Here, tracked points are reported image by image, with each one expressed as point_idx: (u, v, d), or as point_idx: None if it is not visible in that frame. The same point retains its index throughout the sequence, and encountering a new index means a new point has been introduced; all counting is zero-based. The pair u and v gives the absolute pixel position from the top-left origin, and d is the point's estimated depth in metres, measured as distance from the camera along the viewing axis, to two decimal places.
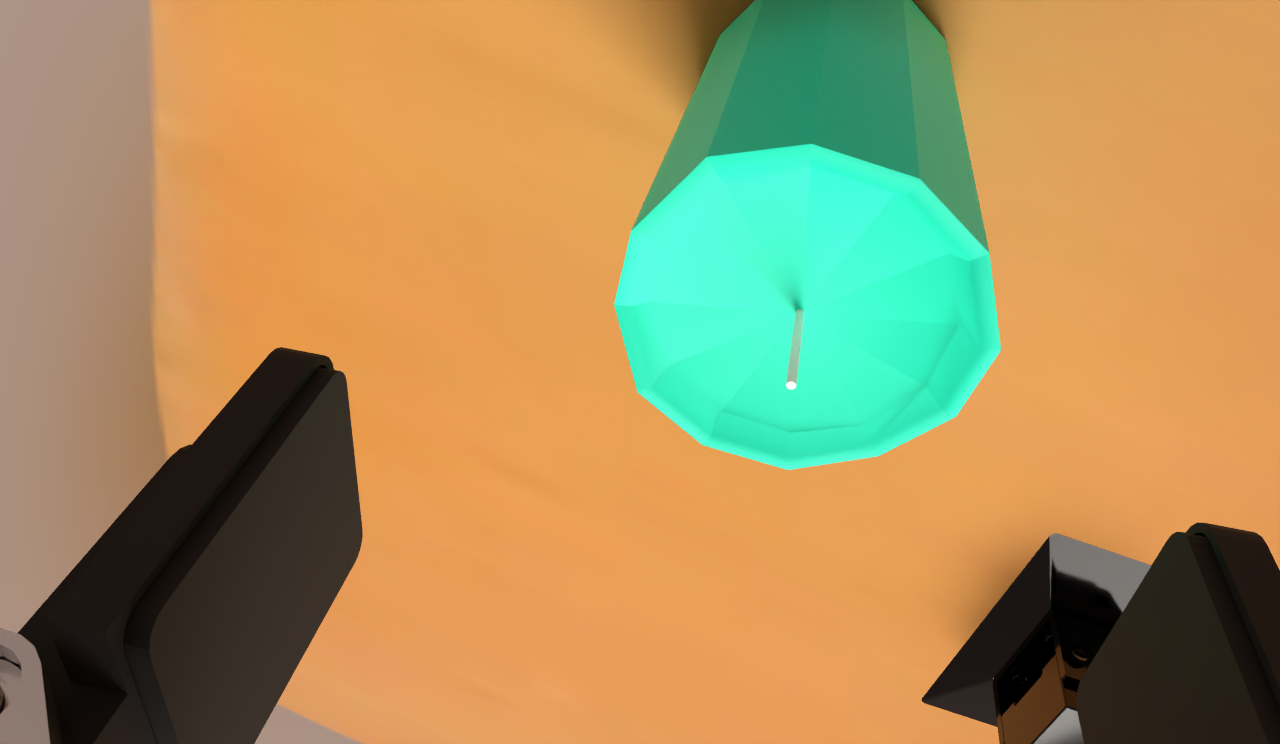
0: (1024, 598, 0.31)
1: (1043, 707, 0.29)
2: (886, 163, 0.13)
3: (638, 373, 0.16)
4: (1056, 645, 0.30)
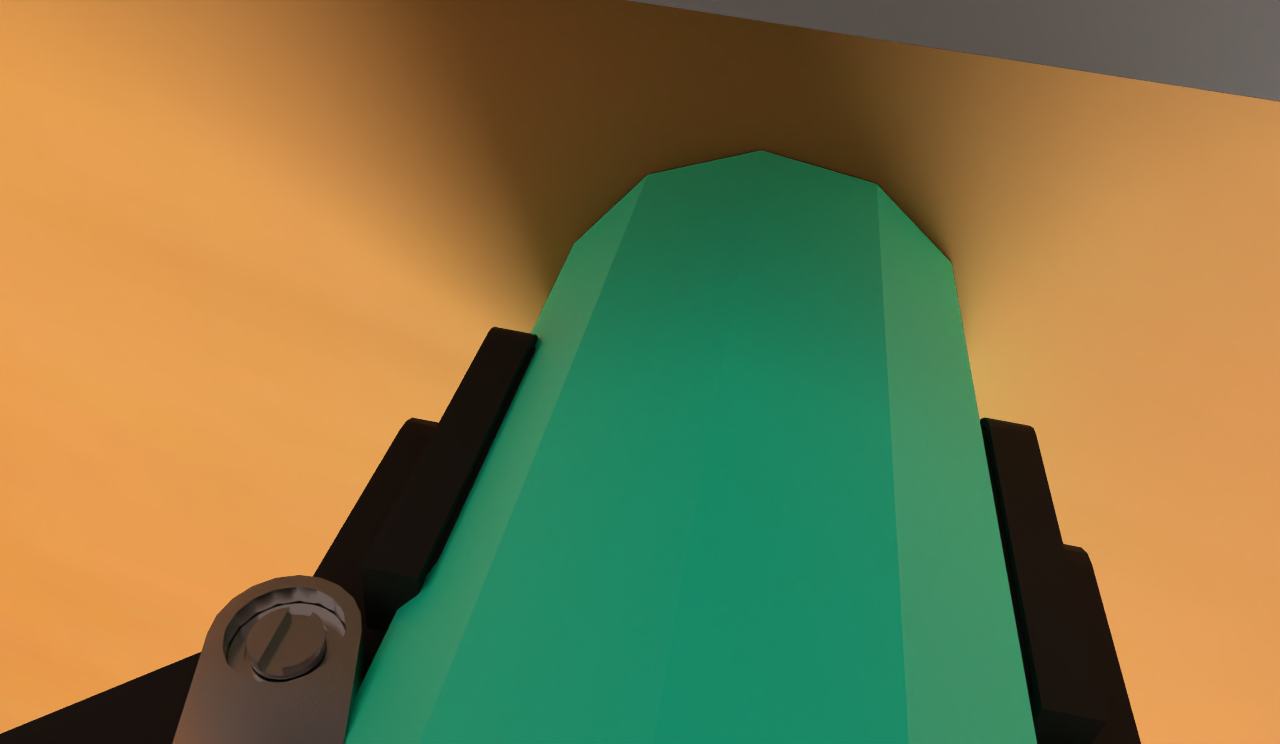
0: None
1: None
2: None
3: None
4: None
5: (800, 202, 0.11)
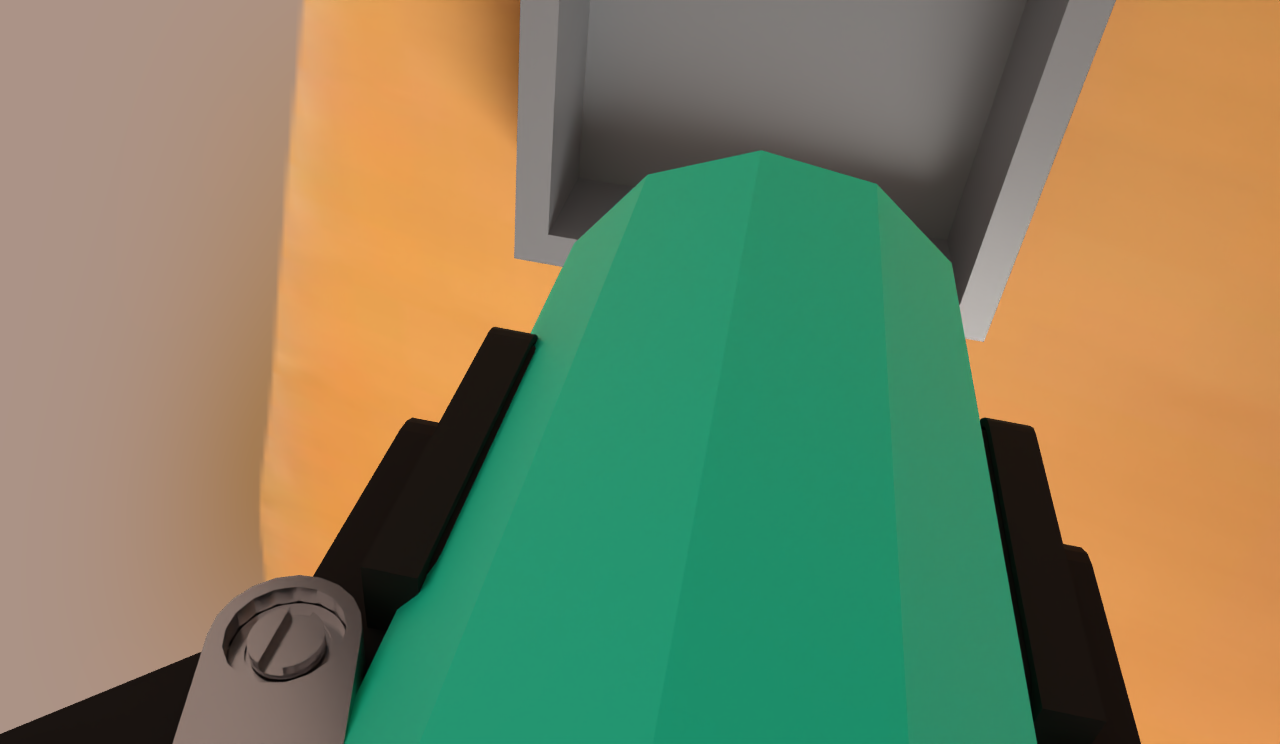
0: None
1: None
2: None
3: None
4: None
5: (800, 202, 0.11)
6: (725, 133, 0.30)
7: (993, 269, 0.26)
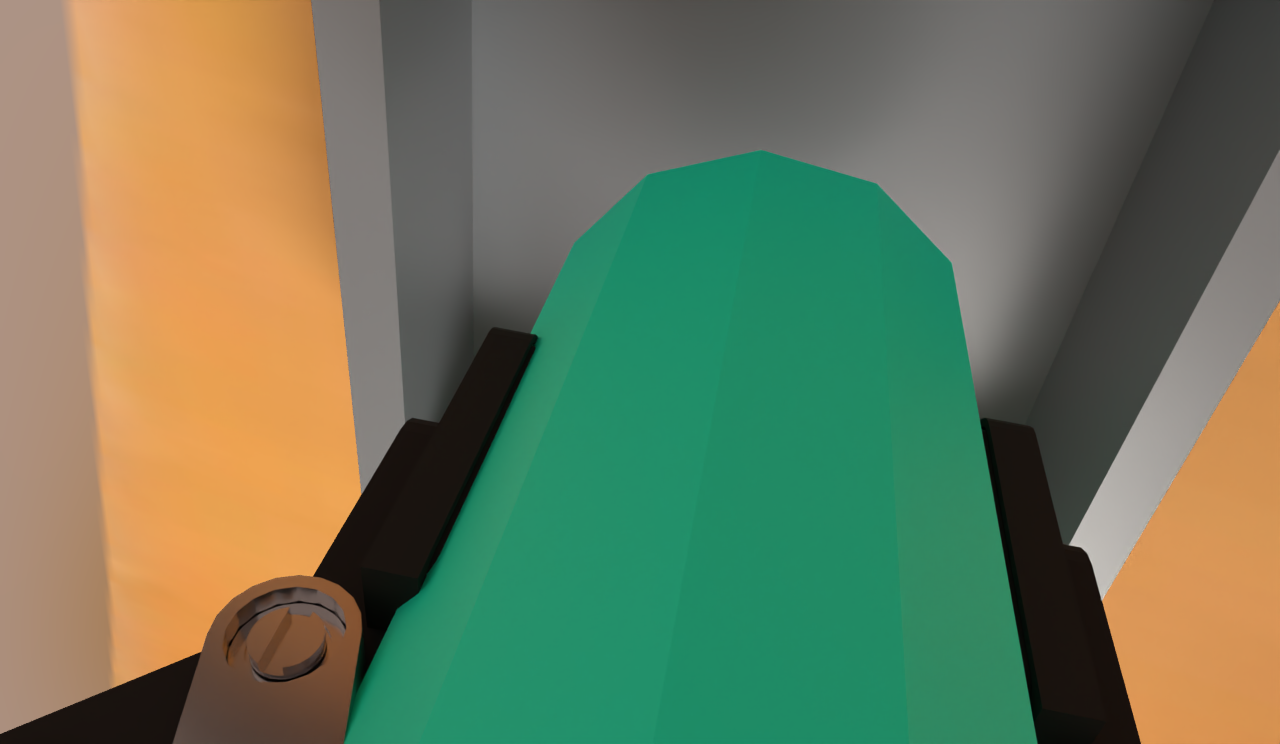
0: None
1: None
2: None
3: None
4: None
5: (800, 202, 0.11)
6: None
7: None
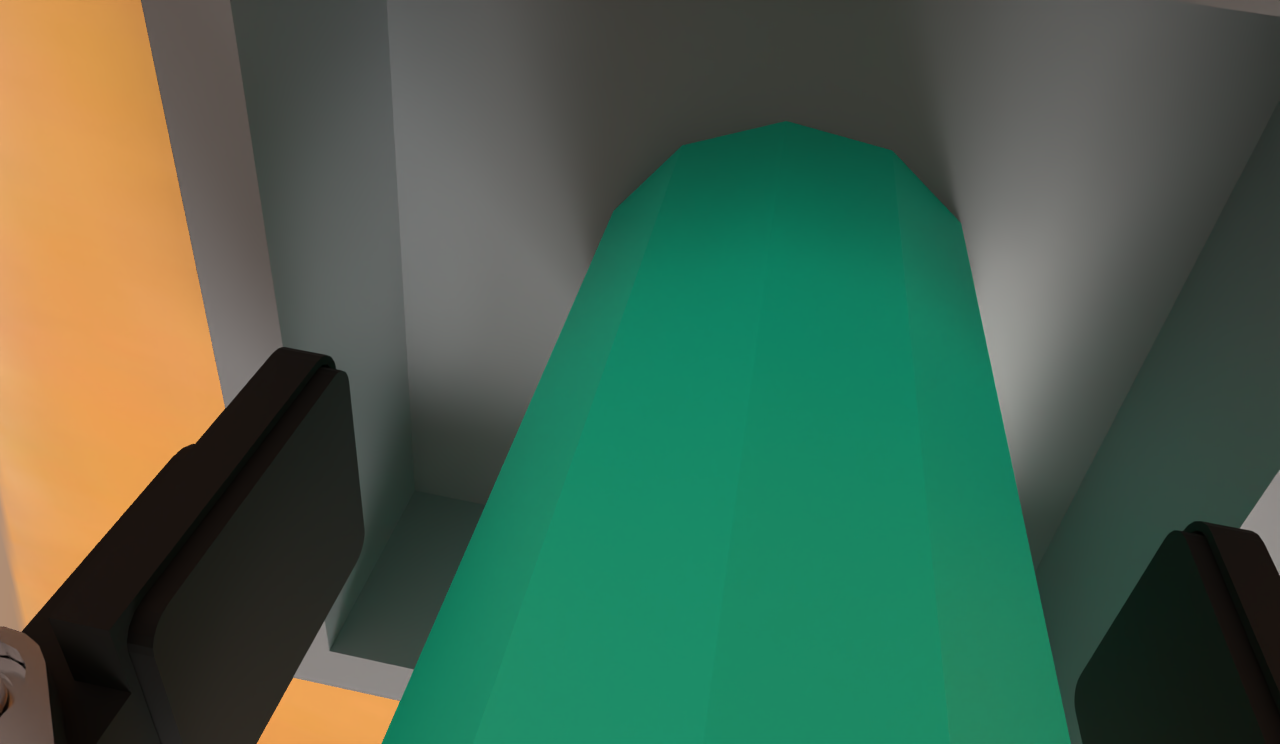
0: None
1: None
2: None
3: None
4: None
5: (824, 165, 0.13)
6: None
7: None
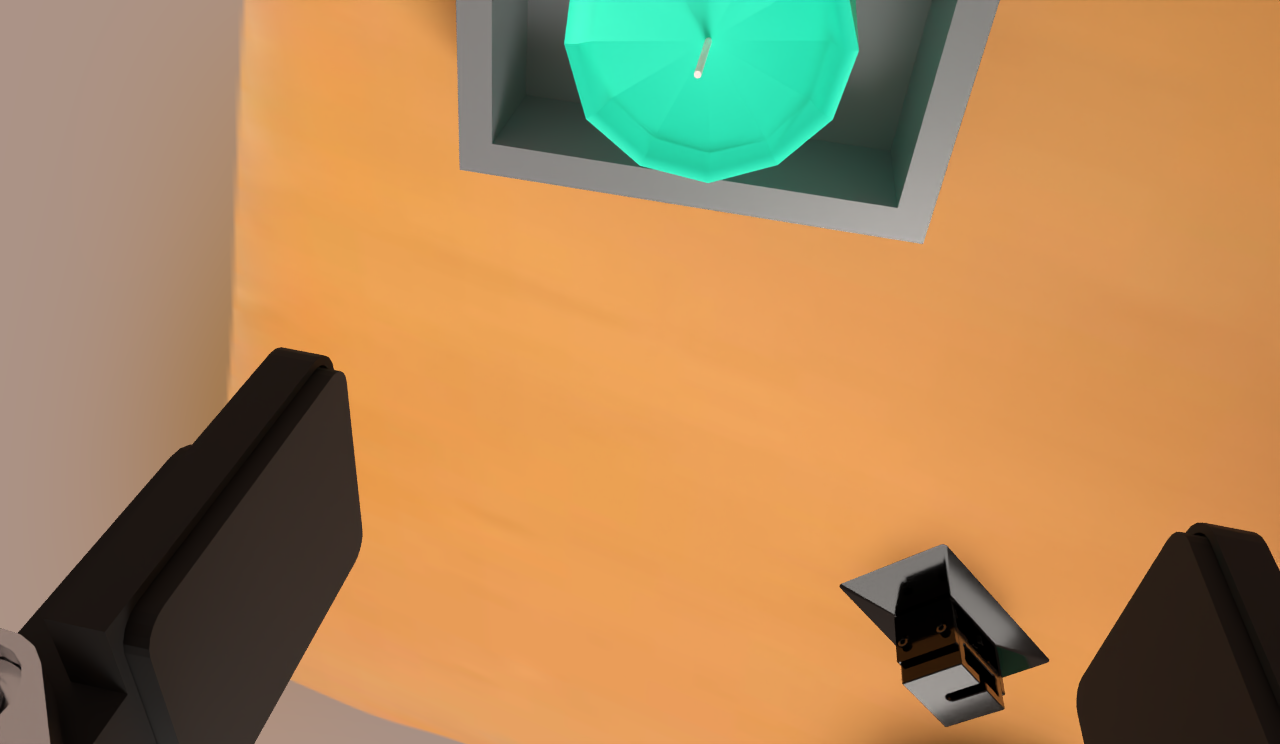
0: (882, 619, 0.45)
1: None
2: None
3: (585, 102, 0.20)
4: (897, 642, 0.43)
5: None
6: None
7: (929, 168, 0.27)
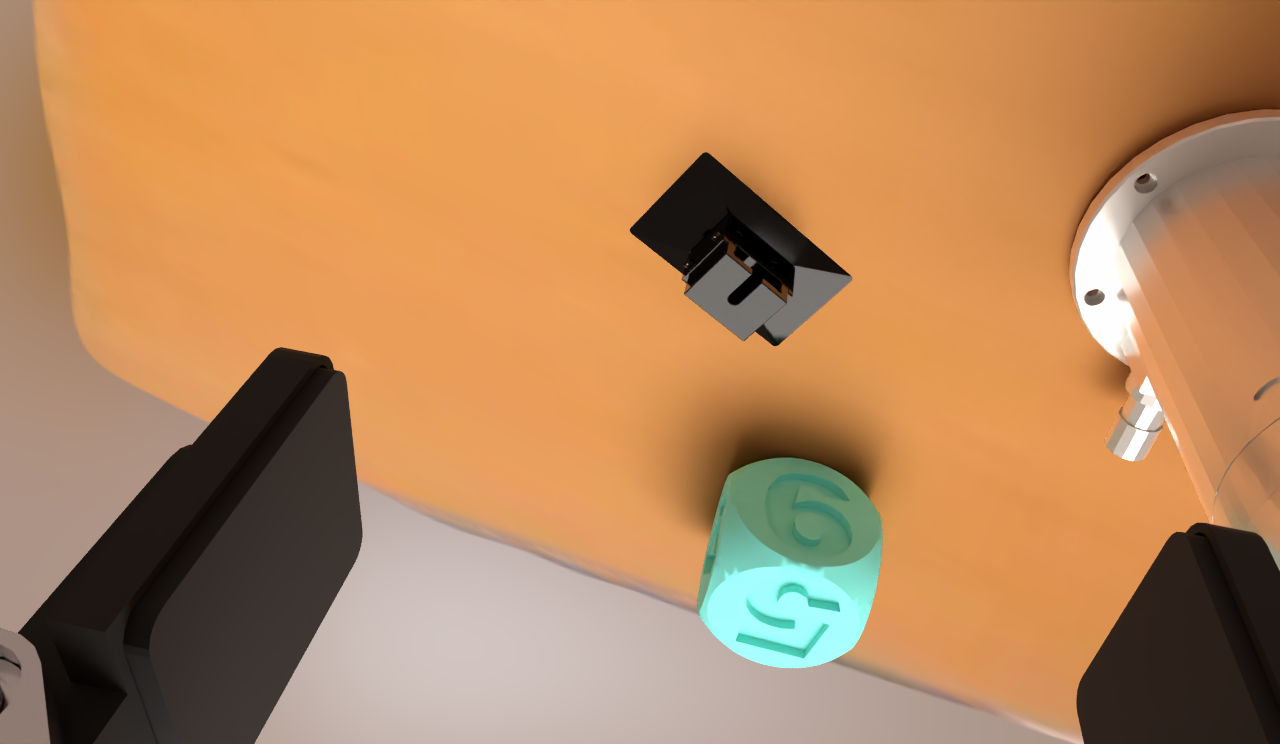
0: (683, 263, 0.46)
1: None
2: None
3: None
4: None
5: None
6: None
7: None
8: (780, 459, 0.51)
